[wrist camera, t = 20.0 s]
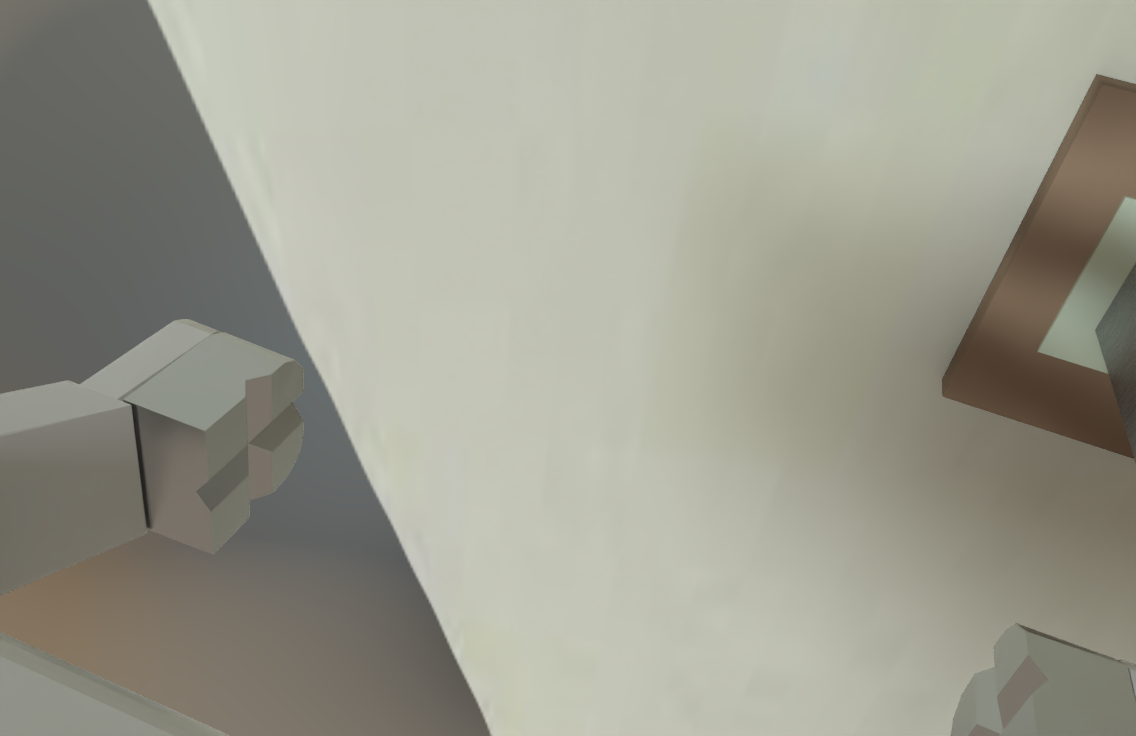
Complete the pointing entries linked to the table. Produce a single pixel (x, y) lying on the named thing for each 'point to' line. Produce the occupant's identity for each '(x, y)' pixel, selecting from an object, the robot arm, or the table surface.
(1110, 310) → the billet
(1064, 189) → the pallet
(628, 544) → the table surface
